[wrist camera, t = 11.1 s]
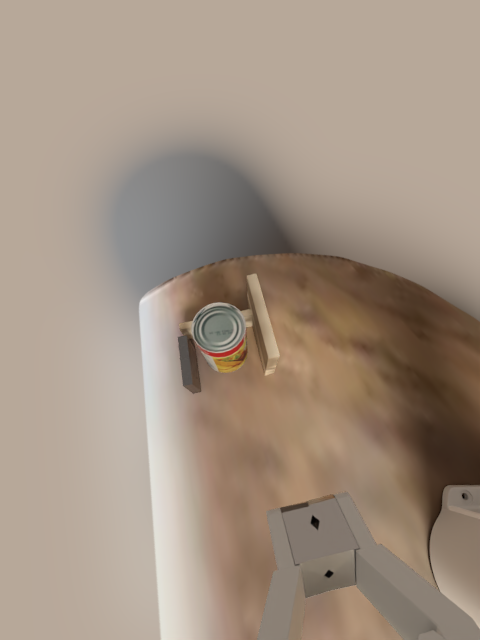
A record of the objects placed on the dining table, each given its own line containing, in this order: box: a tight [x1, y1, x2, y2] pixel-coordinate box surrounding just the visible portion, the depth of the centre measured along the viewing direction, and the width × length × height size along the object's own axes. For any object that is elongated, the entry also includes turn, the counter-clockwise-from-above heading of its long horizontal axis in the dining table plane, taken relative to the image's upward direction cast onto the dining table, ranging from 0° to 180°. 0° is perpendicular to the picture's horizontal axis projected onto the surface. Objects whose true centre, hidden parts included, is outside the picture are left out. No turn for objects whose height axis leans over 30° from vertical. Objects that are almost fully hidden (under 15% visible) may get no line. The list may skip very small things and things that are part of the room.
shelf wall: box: [179, 274, 280, 375], centre depth 42 cm, size 14×14×11 cm
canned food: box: [191, 302, 247, 373], centre depth 41 cm, size 8×8×12 cm
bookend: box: [178, 335, 201, 393], centre depth 42 cm, size 1×8×7 cm, turn 11°
